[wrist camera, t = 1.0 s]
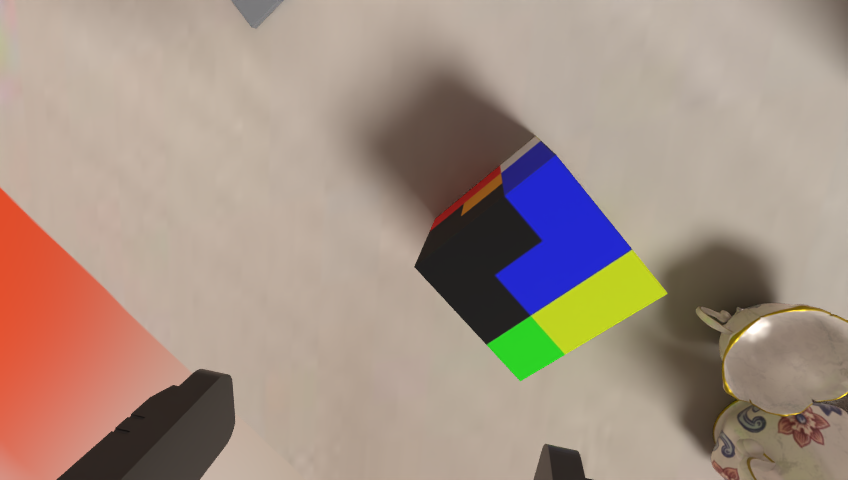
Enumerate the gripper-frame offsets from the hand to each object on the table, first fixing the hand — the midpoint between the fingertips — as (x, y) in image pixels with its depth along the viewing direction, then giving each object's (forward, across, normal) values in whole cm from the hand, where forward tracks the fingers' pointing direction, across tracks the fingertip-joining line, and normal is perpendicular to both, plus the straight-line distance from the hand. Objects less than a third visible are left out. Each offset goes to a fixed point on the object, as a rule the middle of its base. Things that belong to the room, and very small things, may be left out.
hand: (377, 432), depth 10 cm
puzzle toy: (+24, -5, +2) cm, 25 cm away
